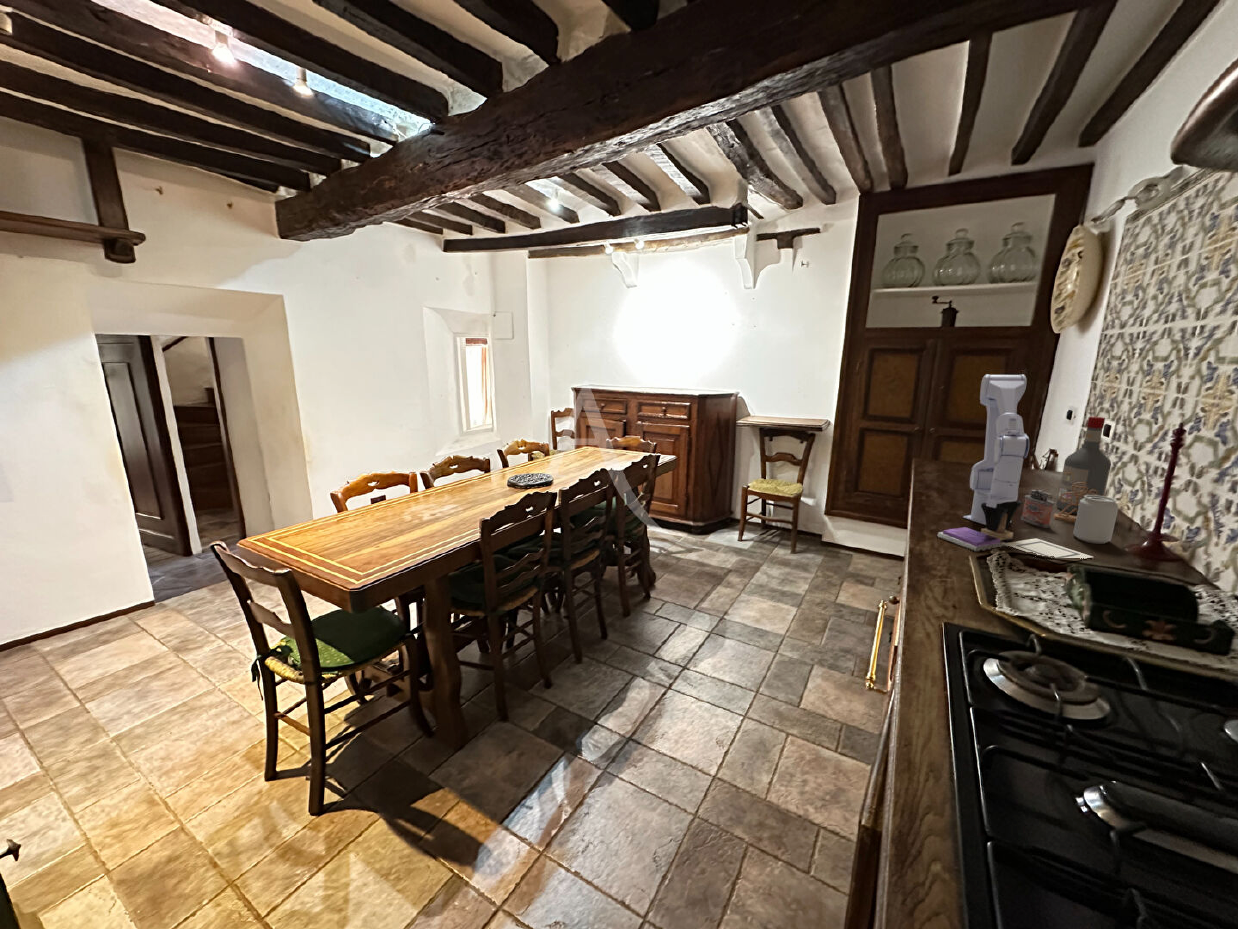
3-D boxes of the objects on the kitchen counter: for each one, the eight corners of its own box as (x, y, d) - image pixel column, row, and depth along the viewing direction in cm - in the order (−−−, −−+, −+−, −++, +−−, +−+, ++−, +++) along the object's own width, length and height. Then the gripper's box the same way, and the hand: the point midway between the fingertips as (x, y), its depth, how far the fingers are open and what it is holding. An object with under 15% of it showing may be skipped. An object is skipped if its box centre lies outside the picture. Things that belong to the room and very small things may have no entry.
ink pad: (964, 532, 137) (965, 525, 136) (1004, 546, 127) (1005, 539, 126) (937, 536, 134) (938, 529, 134) (975, 551, 124) (976, 544, 123)
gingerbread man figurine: (1053, 519, 147) (1061, 481, 144) (1053, 516, 150) (1060, 478, 147) (1094, 525, 141) (1102, 486, 139) (1092, 521, 144) (1100, 483, 142)
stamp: (993, 533, 136) (997, 509, 134) (1012, 540, 131) (1016, 515, 130) (980, 535, 135) (984, 511, 133) (998, 542, 130) (1002, 517, 128)
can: (1100, 536, 133) (1109, 494, 130) (1117, 546, 126) (1127, 502, 123) (1066, 533, 135) (1075, 492, 133) (1081, 543, 128) (1090, 500, 126)
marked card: (1035, 539, 131) (1036, 537, 131) (1093, 558, 119) (1093, 556, 119) (1003, 545, 128) (1003, 543, 128) (1058, 564, 116) (1059, 562, 116)
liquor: (1072, 514, 151) (1092, 419, 144) (1051, 505, 159) (1068, 415, 153) (1105, 515, 149) (1126, 419, 143) (1082, 506, 158) (1101, 415, 151)
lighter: (1017, 518, 148) (1023, 487, 145) (1027, 518, 148) (1033, 487, 146) (1042, 527, 140) (1048, 494, 138) (1053, 527, 140) (1059, 494, 138)
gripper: (999, 473, 136) (991, 518, 139) (976, 480, 129) (969, 528, 132) (1030, 478, 131) (1021, 525, 134) (1008, 486, 123) (999, 536, 126)
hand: (997, 527), depth 132 cm, fingers open, 7 cm apart
